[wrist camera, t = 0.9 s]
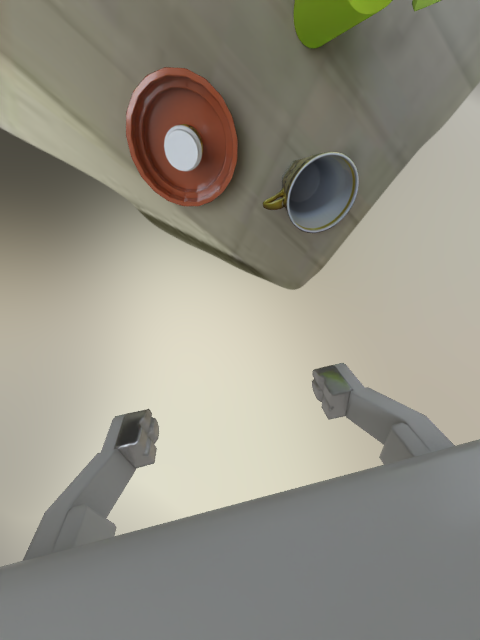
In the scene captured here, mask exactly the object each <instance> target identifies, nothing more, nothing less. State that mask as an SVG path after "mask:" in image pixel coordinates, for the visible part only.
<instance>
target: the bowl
mask: <svg viewBox="0 0 480 640" xmlns="http://www.w3.org/2000/svg"><path fill="white" fill-rule="evenodd" d="M180 124H187V125H190V126H192V127H194V128H195V129H196V130H197V131H198V133H199V134H200V136H201V139H202V142H203V153H202V158H201V161H200V163H199V165H198V166H197V167H196V168H195V169H193V170H191V171H180V170H178V169H176V168H174V167H173V166H172V165H171V164H170V162H169V161H168V159H167V157H166V154H165V149H164V140H165V136H166V134H167V132H168V131H169V130H170V129H171V128H172V127H174V126H176V125H180ZM126 137H127V141H128V145H129V149H130V153H131V157H132V160H133V161H134V163H135V165H136V167H137V169H138V171H139V173H140V175H141V176H142V178H143V179H144V180H145V181H146V182H147V184H148V185H149V186H150V187H151V188H152V189H153V191H155V192H156V193H157V194H159V195H160V196H162V197H163V198H165V199H166V200H168V201H170V202H173V203H176V204H179V205H182V206H200V205H203V204H206V203H208V202H211V201H213V200H214V199H215V198H216V197H218V196H219V195H220V194H221V193H222V192H223V191H224V190H225V188H226V187H227V185H228V184H229V182H230V180H231V179H232V177H233V173H234V169H235V166H236V162H237V143H238V139H237V135H236V130H235V126H234V122H233V118H232V115H231V113H230V111H229V109H228V107H227V105H226V104H225V102H224V100H223V98H222V96H221V95H220V94H219V93H218V92H217V91H216V89H215V88H214V87H213V86H212V85H211V84H210V83H209V82H208V81H207V80H206V79H205V78H203V77H201V76H199V75H197V74H195V73H193V72H192V71H190V70H188V69H185V68H171V67H164V68H162V69H160V70H157V71H155V72H153V73H151V74H149V75H147V76H146V77H145V78H144V79H143V80H142V81H141V83H140V84H139V85H138V86H137V88H136V89H135V90H134V91H133V94H132V97H131V100H130V103H129V106H128V109H127V112H126Z"/></svg>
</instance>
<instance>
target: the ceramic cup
mask: <svg viewBox="0 0 480 640" xmlns="http://www.w3.org/2000/svg"><path fill="white" fill-rule="evenodd" d="M358 186H359V177H358V171H357V169H356V166H355V164H354V163H353V161H352V160H351V159H350V158H349V157H347V156H346V155H344V154H342V153H338V152H326V153H321V154H316V155H313V156H310V157H308V158H304V159H300V160H295V161H293V162H292V164H291V165H290V167H289V168H288V169H287V171H286V172H285V174H284V175H283V177H282V190H281V191H280V192H279V193H277V194H276V195H275V196H273V197H271V198H269V199H267V200H265V201H264V202H263V207H264V208H266V209H268V210H277V209H281V208H283V207H285V208H286V210H287V213H288V216H289V218H290V220H291V222H292V223H293V224H294V226H296V227H297V228H298V229H300V230H301V231H304V232H308V233H318V232H322V231H325V230H328V229H330V228H331V227H333V226H334V225H336V224H337V223H338V222H340V221H341V220H342V219H343V218H344V217H345V215H346V214H347V213H348V212H349V210H350V209H351V207H352V205H353V203H354V201H355V199H356V195H357V192H358ZM279 197H283V198H282V199H279V200H276V199H277V198H279ZM275 200H276V201H275ZM273 201H274V202H273Z"/></svg>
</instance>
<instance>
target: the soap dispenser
mask: <svg viewBox="0 0 480 640" xmlns="http://www.w3.org/2000/svg"><path fill="white" fill-rule="evenodd" d="M391 1H392V0H295V4H294V25H295V30H296V33H297V36H298V38H299V39H300V41H301V42H302V43H303V44H304V45H305V46H307V47H309V48H318V47H320V46H322V45H324V44H325V43H327V42H329V41H330V40H332V39H334V38H335V37H337V36H339V35H340V34H342V33H344V32H345V31H347V30H349V29H350V28H352V27H354V26H355V25H357V24H359V23H360V22H362V21H364V20H366V19H367V18H369V17H371V16H372V15H374V14H376V13H377V12H379V11H381V10H382V9H384V8H385V7H386V6H387V5H388V4H389V3H390V2H391ZM439 1H441V0H413V1H412V5H413V9H414V11H417V10H420V9H422V8H425V7H427V6H429V5H432V4H434V3H437V2H439Z"/></svg>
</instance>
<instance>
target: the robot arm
mask: <svg viewBox="0 0 480 640" xmlns="http://www.w3.org/2000/svg"><path fill="white" fill-rule="evenodd" d="M313 377H314V380H313V381H312V387H313V391H314V394H315V396H316V398H317V399H318V400H319V401H320V402H322V409H323V410H324V412H325V414H326V416H327V418H328V419H333V418H338V417H343V416H346V417H347V418H348V419H350V420H351V421H352V422H354V423H355V424H356V425H358V426H359V427H361V428H362V429H363V430H365V431H366V432H367V433H369V434H370V435H371V436H373V437H374V438H375V439H377V440H378V441H380V442H381V443H382V444H384V447H383V450H382V452H381V454H380V459H381V460H382V462H383V464H384V465H382V466H378V467H374V468H370V469H367V470H363V471H359V472H355V473H351V474H348V475H344V476H340V477H336V478H333V479H329V480H325V481H322V482H318V483H314V484H310V485H306V486H302V487H299V488H295V489H291V490H287V491H284V492H280V493H276V494H273V495H269V496H265V497H262V498H257V499H254V500H250V501H246V502H242V503H239V504H235V505H231V506H227V507H224V508H220V509H216V510H212V511H208V512H205V513H201V514H197V515H194V516H190V517H186V518H182V519H178V520H175V521H171V522H168V523H163V524H160V525H156V526H152V527H148V528H145V529H141V530H137V531H133V532H130V533H126V534H122V535H119V536H115V537H114V535H115V531H116V526H115V524H114V523H112V522H111V521H109V520H108V519H106V518H107V516H108V515H109V513H110V511H111V510H112V508H113V506H114V505H115V503H116V501H117V500H118V498H119V497H120V495H121V493H122V492H123V490H124V488H125V487H126V485H127V483H128V482H129V480H130V478H131V477H132V475H133V474H134V472H135V470H136V468H139V467H143V466H146V465H150V464H154V462H155V456H156V449H157V448H156V446H155V445H154V444H155V442H156V441H157V439H158V436H159V426H158V423H157V421H156V419H155V418H153V417H151V416H152V413H151V411H150V410H149V409H147V410H143V411H138V412H133V413H128V414H124V415H119V416H115V418H114V419H113V420H112V423H111V426H110V429H109V431H108V434H107V437H106V440H105V443H104V445H103V448H102V451H101V453H98V454H97V455H96V456H95V457H94V458H93V459H92V460H91V461H90V462H89V464H88V465H87V466H86V467H85V468H84V469H83V470H82V471H81V473H80V474H79V475H78V476H77V477H76V478H75V479H74V481H73V482H72V483H71V484H70V485H69V486H68V487H67V488H66V490H65V491H64V492H63V493H62V494H61V495H60V496H59V497H58V498H57V500H56V501H55V502H54V503H53V504H52V505H51V506H50V507H49V509H48V510H47V511H46V512H45V513H44V516H43V518H42V520H41V522H40V524H39V527H38V528H37V531H36V533H35V535H34V537H33V539H32V542H31V544H30V546H29V548H28V550H27V552H26V555H25V557H24V559H23V561H21V562H17V563H13V564H10V565H6V566H2V567H0V640H480V439H479V440H476V441H472V442H468V443H464V444H461V445H457V446H455V445H453V443H452V442H451V441H450V440H449V439H448V438H447V437H446V436H445V435H444V434H443V433H442V432H441V431H440V430H439V429H438V428H437V427H436V426H435V425H434V424H433V423H432V422H431V421H430V420H429V419H428V418H427V417H426V416H425V415H423V414H421V413H419V412H417V411H415V410H413V409H411V408H409V407H407V406H405V405H403V404H401V403H399V402H397V401H395V400H393V399H391V398H389V397H387V396H385V395H382V394H380V393H378V392H376V391H374V390H372V389H370V388H364V386H363V385H362V384H361V383H360V381H359V380H358V379H357V378H356V377H355V375H354V374H353V373H352V372H351V370H350V369H349V368H348V367H347V366H346V364H344V363H340V364H335V365H331V366H327V367H323V368H319V369H315V370H313Z"/></svg>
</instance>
